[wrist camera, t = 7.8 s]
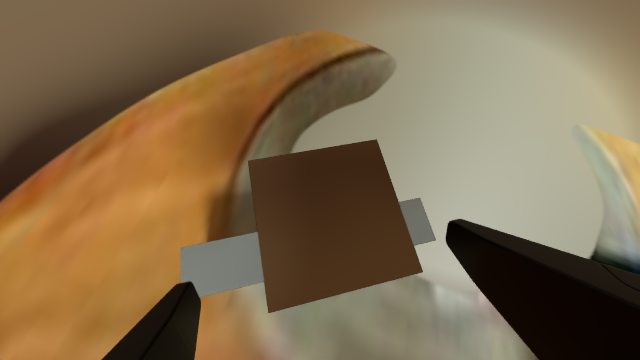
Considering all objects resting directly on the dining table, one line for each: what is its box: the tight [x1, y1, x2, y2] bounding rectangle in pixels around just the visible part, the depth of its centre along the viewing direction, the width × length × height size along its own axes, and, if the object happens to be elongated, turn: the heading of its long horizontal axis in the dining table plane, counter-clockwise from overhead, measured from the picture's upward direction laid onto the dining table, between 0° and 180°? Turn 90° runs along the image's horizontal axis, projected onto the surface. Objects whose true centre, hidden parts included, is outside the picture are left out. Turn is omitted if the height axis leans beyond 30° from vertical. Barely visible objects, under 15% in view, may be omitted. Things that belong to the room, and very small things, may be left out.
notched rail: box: [181, 198, 436, 297], centre depth 17 cm, size 3×16×4 cm, turn 103°
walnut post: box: [248, 140, 423, 313], centre depth 12 cm, size 4×4×12 cm
